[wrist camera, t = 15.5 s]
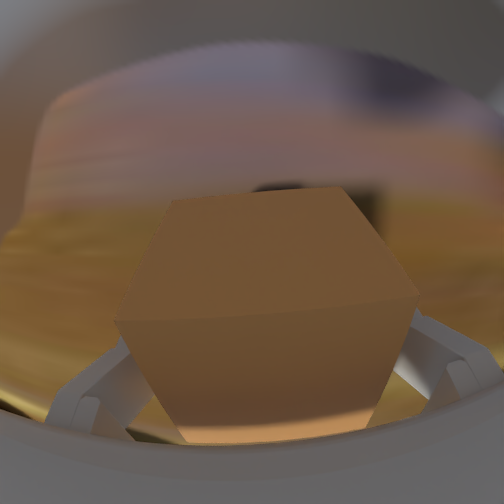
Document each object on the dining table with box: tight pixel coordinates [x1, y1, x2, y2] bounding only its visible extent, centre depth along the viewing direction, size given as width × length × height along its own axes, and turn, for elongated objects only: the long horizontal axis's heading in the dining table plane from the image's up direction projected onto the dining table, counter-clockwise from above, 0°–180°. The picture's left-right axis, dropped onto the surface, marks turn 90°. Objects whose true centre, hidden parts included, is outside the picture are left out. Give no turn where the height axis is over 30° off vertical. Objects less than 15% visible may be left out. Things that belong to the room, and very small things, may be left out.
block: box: [114, 186, 420, 443], centre depth 8 cm, size 5×5×5 cm
